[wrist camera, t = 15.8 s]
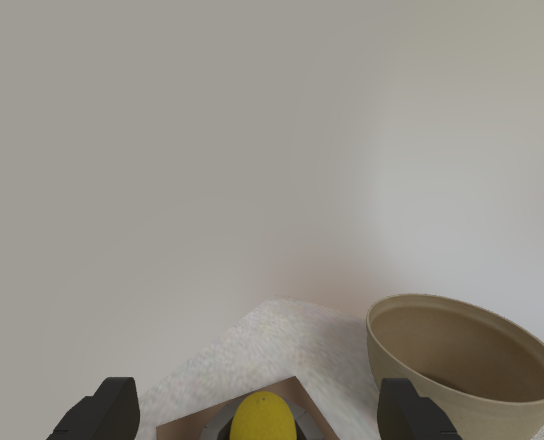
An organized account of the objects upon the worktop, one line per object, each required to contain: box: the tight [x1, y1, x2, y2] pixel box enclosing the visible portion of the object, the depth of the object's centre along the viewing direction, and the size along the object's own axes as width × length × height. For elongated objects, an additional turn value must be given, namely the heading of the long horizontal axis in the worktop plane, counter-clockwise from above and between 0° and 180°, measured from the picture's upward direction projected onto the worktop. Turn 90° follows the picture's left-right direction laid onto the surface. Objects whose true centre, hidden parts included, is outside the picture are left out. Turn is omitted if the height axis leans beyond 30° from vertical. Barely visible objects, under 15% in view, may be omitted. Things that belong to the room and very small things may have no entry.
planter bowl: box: [366, 294, 544, 440], centre depth 29 cm, size 16×16×11 cm
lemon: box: [230, 391, 297, 440], centre depth 24 cm, size 6×6×8 cm
